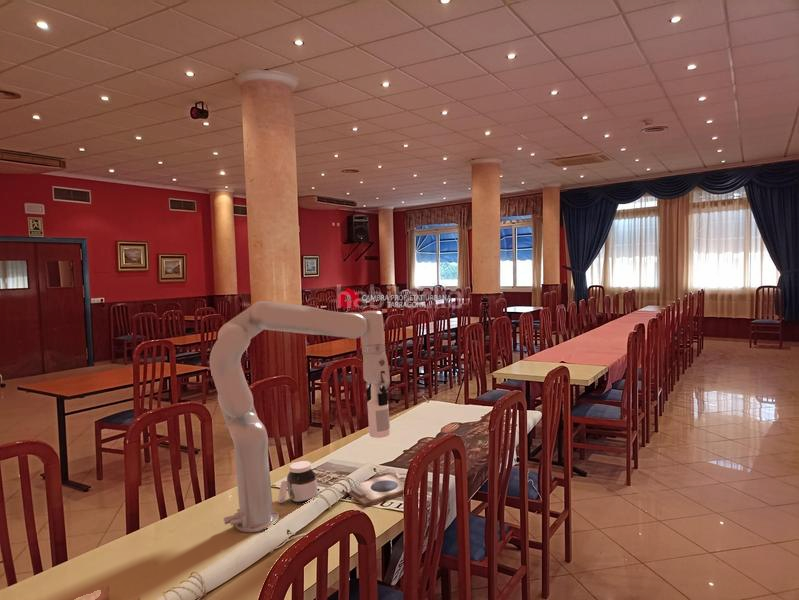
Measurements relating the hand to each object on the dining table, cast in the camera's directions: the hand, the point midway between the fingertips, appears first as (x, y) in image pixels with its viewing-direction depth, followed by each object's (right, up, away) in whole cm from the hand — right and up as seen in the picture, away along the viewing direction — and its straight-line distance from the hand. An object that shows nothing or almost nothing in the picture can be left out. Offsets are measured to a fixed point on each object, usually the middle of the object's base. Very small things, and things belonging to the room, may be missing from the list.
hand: (377, 402), depth 177 cm
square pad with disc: (0, -30, +2) cm, 30 cm away
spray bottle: (+1, -11, +1) cm, 11 cm away
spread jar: (-26, -32, -1) cm, 41 cm away
